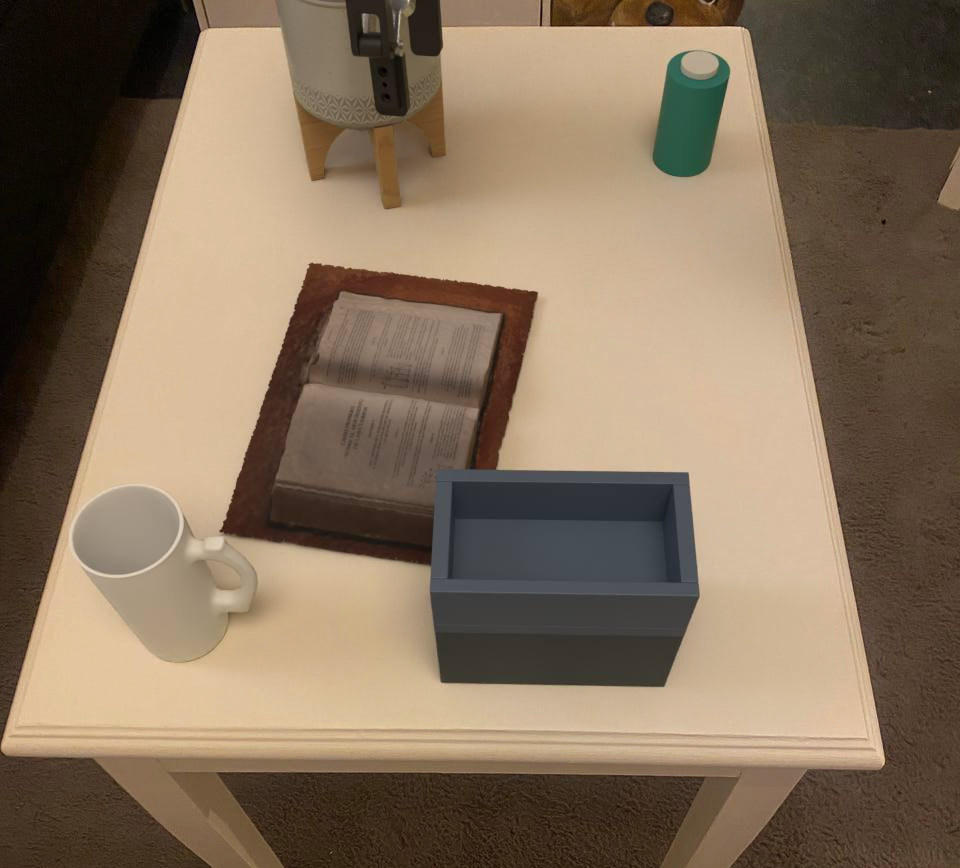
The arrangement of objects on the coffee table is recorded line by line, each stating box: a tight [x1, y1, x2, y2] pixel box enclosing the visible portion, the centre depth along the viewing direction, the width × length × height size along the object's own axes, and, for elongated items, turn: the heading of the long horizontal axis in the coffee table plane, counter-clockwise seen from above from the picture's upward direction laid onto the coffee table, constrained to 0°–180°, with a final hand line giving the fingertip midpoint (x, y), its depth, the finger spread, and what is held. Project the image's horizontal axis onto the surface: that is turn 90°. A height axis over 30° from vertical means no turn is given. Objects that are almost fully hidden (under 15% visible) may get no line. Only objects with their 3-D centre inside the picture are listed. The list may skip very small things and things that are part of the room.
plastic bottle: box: [652, 49, 731, 178], centre depth 84 cm, size 5×5×9 cm
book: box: [218, 262, 539, 566], centre depth 74 cm, size 20×28×4 cm
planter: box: [275, 0, 447, 210], centre depth 81 cm, size 13×13×18 cm
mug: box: [67, 482, 259, 663], centre depth 61 cm, size 10×7×12 cm, turn 87°
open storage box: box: [429, 469, 701, 688], centre depth 60 cm, size 15×9×12 cm, turn 88°
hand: (411, 82), depth 65 cm, fingers open, 8 cm apart
